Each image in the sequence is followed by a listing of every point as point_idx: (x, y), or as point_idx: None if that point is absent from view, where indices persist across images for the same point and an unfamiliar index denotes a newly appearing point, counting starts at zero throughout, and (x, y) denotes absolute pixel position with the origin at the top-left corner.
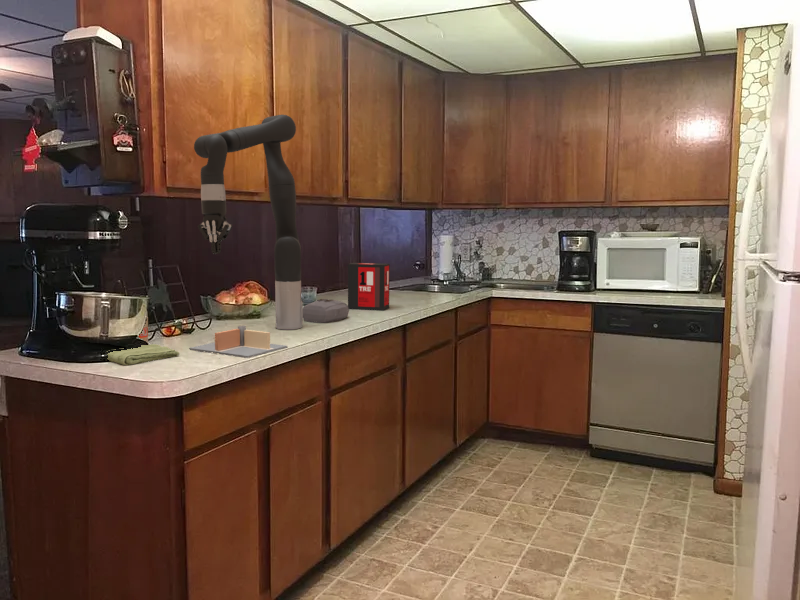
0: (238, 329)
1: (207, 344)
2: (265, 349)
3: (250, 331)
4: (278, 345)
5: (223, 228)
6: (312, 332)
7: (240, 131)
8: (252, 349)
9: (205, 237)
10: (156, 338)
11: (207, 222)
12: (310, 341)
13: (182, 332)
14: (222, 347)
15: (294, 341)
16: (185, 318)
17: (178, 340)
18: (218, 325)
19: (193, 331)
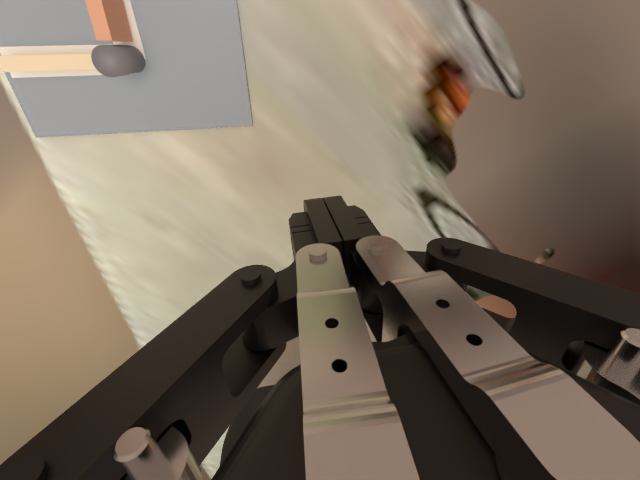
0: (95, 33)
1: (228, 6)
2: (12, 46)
3: (60, 54)
4: (57, 125)
5: (129, 418)
6: (184, 303)
7: None
8: (44, 23)
9: (472, 252)
10: (450, 16)
11: (581, 444)
12: (82, 230)
13: (442, 133)
14: None
15: (110, 208)
16: (538, 260)
17: (373, 31)
18: (422, 246)
19: (425, 160)
